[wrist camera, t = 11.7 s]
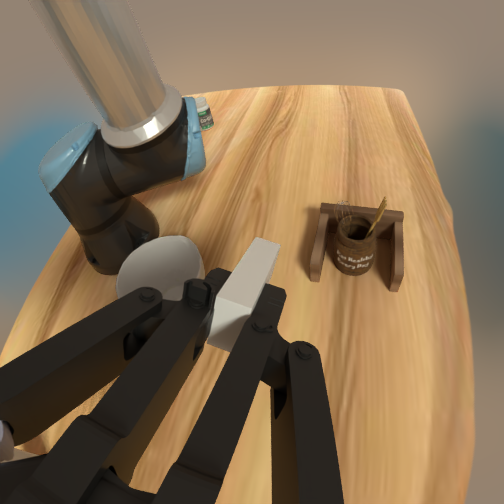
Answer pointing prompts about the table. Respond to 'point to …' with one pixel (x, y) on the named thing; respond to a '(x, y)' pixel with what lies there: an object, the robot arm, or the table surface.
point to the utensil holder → (356, 242)
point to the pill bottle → (204, 114)
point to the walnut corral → (385, 228)
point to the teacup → (161, 267)
